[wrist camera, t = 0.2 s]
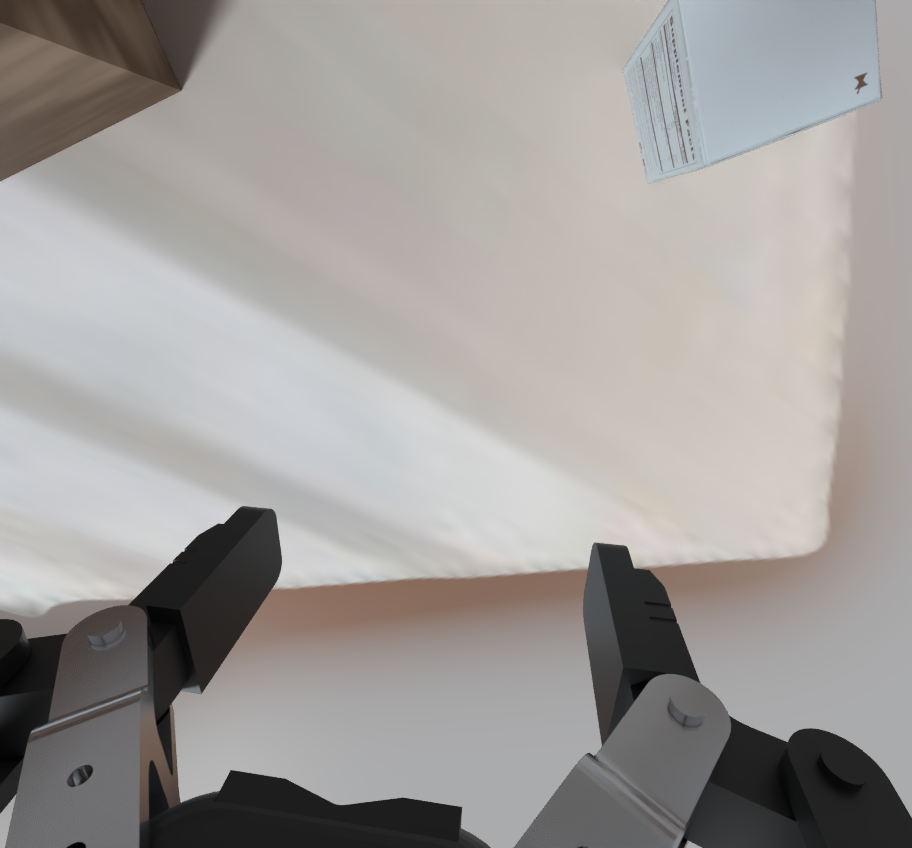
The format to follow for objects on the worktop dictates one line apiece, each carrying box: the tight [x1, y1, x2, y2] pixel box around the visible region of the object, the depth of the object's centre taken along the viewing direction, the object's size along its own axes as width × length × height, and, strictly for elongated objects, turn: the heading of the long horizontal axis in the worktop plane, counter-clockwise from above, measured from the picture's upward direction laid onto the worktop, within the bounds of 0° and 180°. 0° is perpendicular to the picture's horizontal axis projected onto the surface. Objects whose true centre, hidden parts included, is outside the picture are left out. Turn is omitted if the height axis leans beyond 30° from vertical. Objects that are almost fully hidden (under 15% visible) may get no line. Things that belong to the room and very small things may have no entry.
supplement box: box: [623, 0, 882, 183], centre depth 26 cm, size 7×7×13 cm
